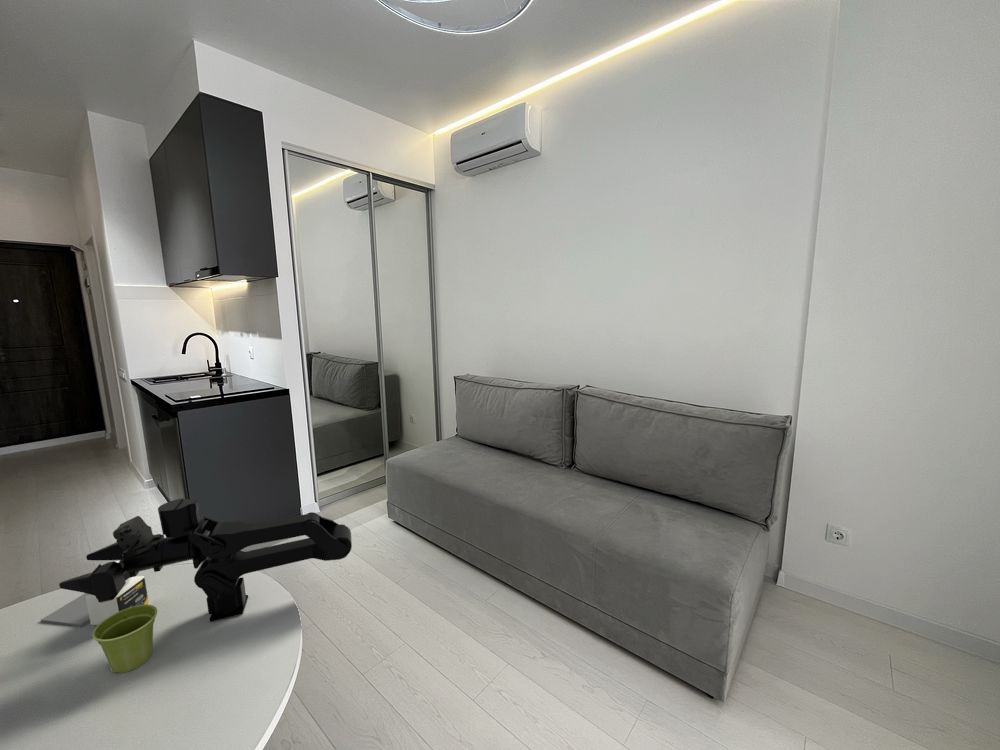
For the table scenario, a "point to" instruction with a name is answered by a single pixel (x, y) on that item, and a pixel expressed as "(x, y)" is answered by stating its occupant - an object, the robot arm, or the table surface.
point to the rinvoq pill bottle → (118, 599)
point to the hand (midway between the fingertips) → (74, 570)
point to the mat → (71, 613)
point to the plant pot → (127, 637)
